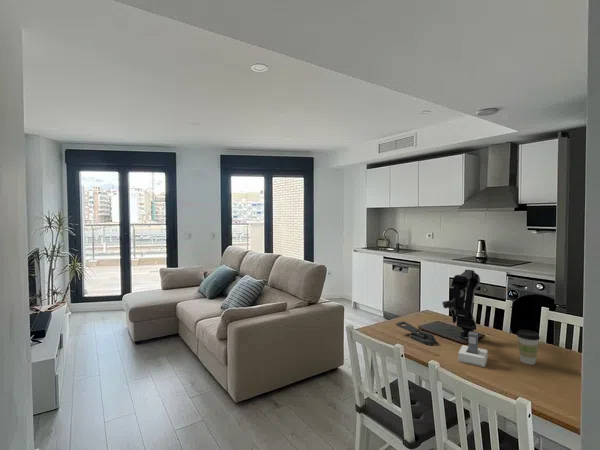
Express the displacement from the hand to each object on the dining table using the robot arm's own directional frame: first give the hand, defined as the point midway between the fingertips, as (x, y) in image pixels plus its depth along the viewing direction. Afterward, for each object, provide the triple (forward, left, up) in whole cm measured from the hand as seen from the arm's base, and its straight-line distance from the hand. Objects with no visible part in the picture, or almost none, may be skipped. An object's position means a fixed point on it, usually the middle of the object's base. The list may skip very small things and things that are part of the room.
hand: (455, 324), depth 193 cm
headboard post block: (+4, +17, -13) cm, 21 cm away
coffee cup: (-20, +28, -13) cm, 36 cm away
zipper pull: (+13, -19, -13) cm, 27 cm away
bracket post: (+4, +17, -12) cm, 21 cm away
